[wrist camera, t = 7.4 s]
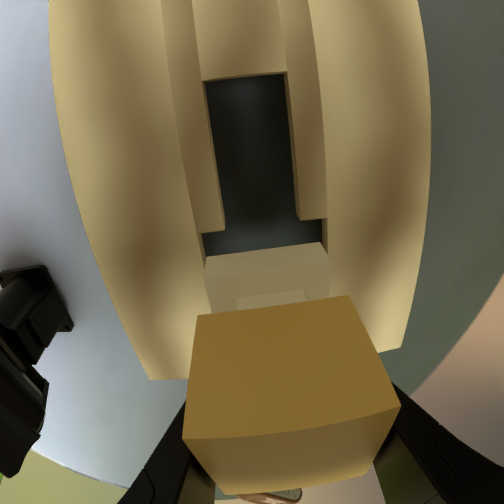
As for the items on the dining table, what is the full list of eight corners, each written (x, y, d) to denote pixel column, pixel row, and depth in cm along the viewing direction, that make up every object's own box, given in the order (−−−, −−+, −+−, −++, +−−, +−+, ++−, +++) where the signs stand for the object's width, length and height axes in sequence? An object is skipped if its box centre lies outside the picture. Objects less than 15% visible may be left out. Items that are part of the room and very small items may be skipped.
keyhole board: (165, 320, 22) (150, 379, 17) (99, 19, 12) (49, -3, 7) (369, 294, 22) (400, 347, 17) (360, -11, 12) (405, -43, 7)
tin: (218, 435, 32) (218, 495, 24) (239, 428, 31) (241, 491, 23) (283, 465, 38) (288, 512, 30) (300, 460, 37) (308, 507, 29)
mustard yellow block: (225, 339, 14) (224, 494, 7) (206, 256, 12) (181, 439, 5) (320, 326, 14) (365, 474, 7) (319, 241, 12) (401, 406, 5)
